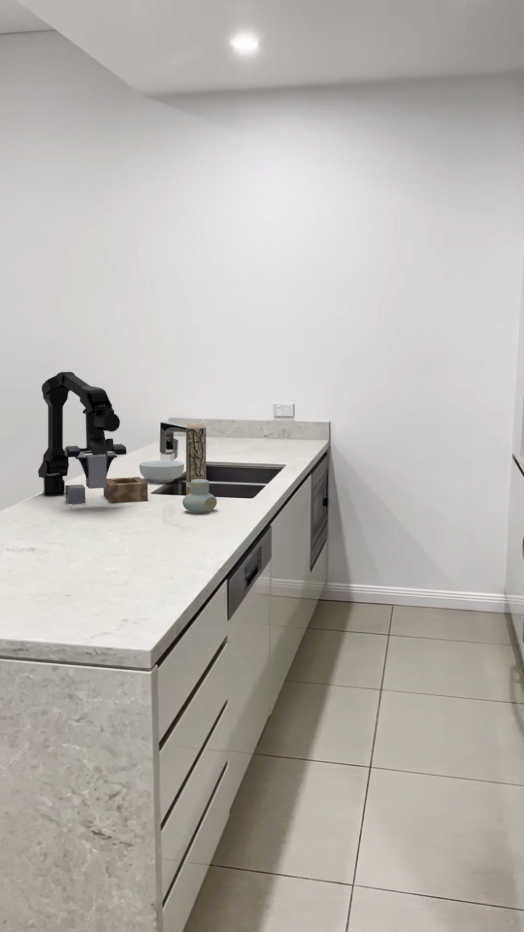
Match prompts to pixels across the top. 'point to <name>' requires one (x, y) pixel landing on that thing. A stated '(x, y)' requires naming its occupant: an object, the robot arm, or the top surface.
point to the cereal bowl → (161, 470)
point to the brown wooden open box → (126, 490)
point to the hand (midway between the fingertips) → (96, 477)
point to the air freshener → (199, 497)
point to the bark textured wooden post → (195, 454)
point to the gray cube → (75, 494)
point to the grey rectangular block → (96, 471)
